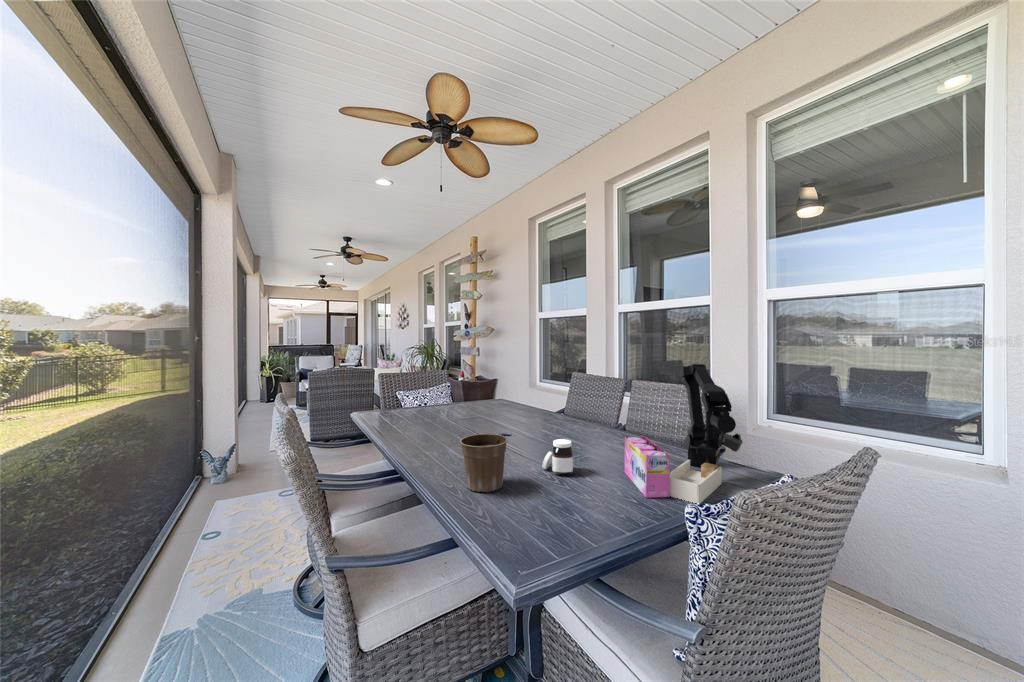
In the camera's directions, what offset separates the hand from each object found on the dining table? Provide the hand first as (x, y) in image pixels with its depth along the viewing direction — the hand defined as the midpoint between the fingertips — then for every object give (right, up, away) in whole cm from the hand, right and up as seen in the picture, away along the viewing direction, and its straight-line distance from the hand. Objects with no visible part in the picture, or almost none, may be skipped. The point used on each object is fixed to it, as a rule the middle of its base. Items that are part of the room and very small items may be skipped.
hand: (713, 469), depth 143 cm
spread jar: (-54, -4, +10) cm, 55 cm away
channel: (-11, -4, -8) cm, 14 cm away
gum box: (-25, -4, -3) cm, 26 cm away
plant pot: (-80, -5, -4) cm, 81 cm away
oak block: (-3, -1, -3) cm, 5 cm away
